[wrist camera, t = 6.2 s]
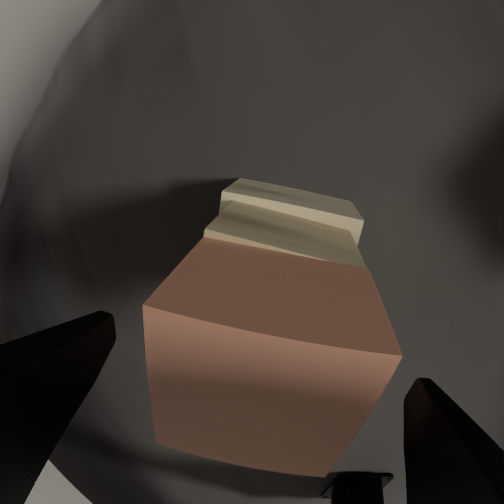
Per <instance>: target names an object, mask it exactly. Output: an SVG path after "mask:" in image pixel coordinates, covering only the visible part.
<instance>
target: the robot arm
mask: <svg viewBox="0 0 504 504" xmlns="http://www.w3.org/2000/svg"><path fill="white" fill-rule="evenodd" d="M115 341H116V331H115V322H114V317H113V315H112V314H111V313H108V312H105V311H97V312H94V313H91V314H88V315H86V316H83V317H80V318H77V319H74V320H71V321H68V322H65V323H62V324H59V325H56V326H53V327H50V328H47V329H44V330H42V331H39V332H36V333H33V334H30V335H27V336H24V337H21V338H18V339H15V340H12V341H9V342H6V343H4V344H0V504H24V503H25V501H26V499H27V497H28V495H29V494H30V492H31V490H32V488H33V486H34V484H35V482H36V480H37V478H38V476H39V475H40V473H41V471H42V469H43V468H44V466H45V464H46V462H47V460H48V459H49V457H50V455H51V454H52V452H53V450H54V448H55V447H56V445H57V443H58V442H59V440H60V438H61V436H62V435H63V433H64V431H65V430H66V428H67V426H68V425H69V423H70V421H71V420H72V418H73V417H74V415H75V413H76V412H77V410H78V408H79V407H80V405H81V404H82V402H83V400H84V399H85V397H86V396H87V394H88V393H89V391H90V389H91V388H92V386H93V385H94V383H95V381H96V379H97V377H98V376H99V374H100V371H101V369H102V367H103V365H104V363H105V361H106V359H107V357H108V355H109V353H110V351H111V349H112V348H113V346H114V343H115ZM404 457H405V471H406V489H407V504H504V451H503V450H502V449H501V448H500V447H499V446H498V445H497V444H496V443H495V442H494V441H493V440H492V439H491V437H490V436H489V435H488V434H487V433H486V432H485V431H484V430H483V429H482V428H481V427H480V426H479V425H477V424H476V423H475V422H474V421H473V420H472V419H471V418H470V417H469V416H468V415H467V414H466V413H465V412H464V411H463V410H462V409H461V408H460V407H459V406H458V405H457V404H456V403H455V402H454V401H453V400H452V399H451V398H450V397H449V396H448V395H447V394H446V393H445V392H444V391H443V390H442V389H441V388H440V387H439V386H438V385H436V384H435V383H434V382H433V381H432V380H431V379H430V378H417V379H416V380H415V382H414V383H413V385H412V387H411V388H410V390H409V391H408V393H407V395H406V396H405V399H404ZM393 478H394V477H393V474H351V473H342V474H339V475H338V476H337V477H336V478H335V479H334V481H333V482H332V483H331V484H330V485H329V486H328V487H327V489H326V490H325V491H324V492H323V493H322V494H321V498H326V499H331V504H384V498H383V488H384V487H385V486H386V485H387V484H388V483H389V482H390V481H391V480H392V479H393Z"/></svg>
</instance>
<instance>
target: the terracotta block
mask: <svg viewBox="0 0 504 504" xmlns="http://www.w3.org/2000/svg"><path fill="white" fill-rule="evenodd" d="M143 321H144V338H145V352H146V364H147V375H148V385H149V394H150V402H151V410H152V417H153V425H154V431H155V438H156V443H157V444H160V445H163V446H166V447H170V448H173V449H176V450H179V451H183V452H186V453H190V454H193V455H197V456H200V457H204V458H208V459H212V460H216V461H220V462H225V463H229V464H234V465H239V466H244V467H249V468H254V469H260V470H266V471H272V472H279V473H286V474H294V475H303V476H314V477H326V475H327V474H328V473H329V471H330V470H331V469H332V468H333V466H334V465H335V464H336V462H337V461H338V460H339V458H340V457H341V456H342V454H343V453H344V451H345V450H346V449H347V447H348V446H349V444H350V443H351V441H352V440H353V439H354V437H355V436H356V434H357V433H358V431H359V430H360V428H361V427H362V425H363V424H364V422H365V421H366V419H367V417H368V416H369V414H370V413H371V411H372V409H373V408H374V406H375V405H376V403H377V401H378V400H379V398H380V396H381V395H382V393H383V391H384V389H385V388H386V386H387V384H388V382H389V381H390V379H391V377H392V375H393V373H394V372H395V370H396V368H397V366H398V364H399V362H400V360H401V358H402V353H401V350H400V347H399V344H398V342H397V339H396V336H395V333H394V331H393V328H392V325H391V323H390V320H389V318H388V315H387V312H386V310H385V307H384V305H383V302H382V300H381V297H380V295H379V293H378V290H377V288H376V285H375V283H374V281H373V278H372V276H371V274H370V271H369V269H365V268H360V267H355V266H350V265H345V264H340V263H335V262H330V261H325V260H320V259H315V258H310V257H304V256H299V255H294V254H289V253H284V252H279V251H274V250H269V249H264V248H259V247H254V246H249V245H243V244H238V243H233V242H228V241H223V240H218V239H213V238H207V237H203V238H202V239H201V240H200V241H199V242H198V243H197V244H196V246H195V247H194V248H193V249H192V250H191V251H190V252H189V253H188V254H187V255H186V257H185V258H184V259H183V260H182V261H181V262H180V263H179V264H178V265H177V267H176V268H175V269H174V270H173V271H172V272H171V273H170V274H169V276H168V277H167V278H166V279H165V280H164V281H163V282H162V283H161V285H160V286H159V287H158V288H157V289H156V290H155V291H154V293H153V294H152V295H151V296H150V297H149V298H148V299H147V301H146V302H145V303H144V304H143Z"/></svg>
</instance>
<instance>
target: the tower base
mask: <svg viewBox="0 0 504 504" xmlns="http://www.w3.org/2000/svg"><path fill="white" fill-rule="evenodd" d="M233 200H234V201H238V202H242V203H246V204H250V205H254V206H258V207H262V208H266V209H270V210H274V211H278V212H282V213H286V214H290V215H293V216H297V217H301V218H305V219H309V220H312V221H316V222H320V223H323V224H327V225H330V226H334V227H338V228H341V229H345V230H348V231H350V232H351V234H352V236H353V238H354V240H355V243H356V245H358V241H359V238H360V234H361V231H362V227H363V223H364V220H363V218H362V217H361V215H360V214H359V212H358V211H357V209H356V208H355V206H354V205H353V203H352V202H351V201H348V200H344V199H339V198H335V197H331V196H326V195H322V194H317V193H313V192H308V191H304V190H299V189H294V188H289V187H284V186H279V185H274V184H269V183H264V182H259V181H254V180H248V179H243V178H239V179H238V180H237V181H235V182H234V183H232V184H231V185H230V186H228V187H227V188H225V189H224V190H223V191H222V194H221V202H220V209H219V214H220V213H221V212H222V211H223V210H224V209H225V208H226V207H227V206H228V205H229V204H230V203H231V202H232V201H233Z"/></svg>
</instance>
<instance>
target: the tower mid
mask: <svg viewBox="0 0 504 504" xmlns="http://www.w3.org/2000/svg"><path fill="white" fill-rule="evenodd" d="M204 237H207V238H213V239H218V240H223V241H228V242H233V243H238V244H243V245H249V246H254V247H259V248H264V249H269V250H274V251H279V252H284V253H289V254H294V255H299V256H304V257H310V258H315V259H320V260H325V261H330V262H335V263H340V264H345V265H350V266H355V267H360V268H365V269H367V268H366V266H365V263H364V261H363V259H362V256H361V254H360V252H359V249H358V247H357V245H356V243H355V240H354V238H353V236H352V234H351V232H350V231H348V230H345V229H341V228H338V227H334V226H330V225H327V224H323V223H320V222H316V221H312V220H309V219H305V218H301V217H297V216H293V215H290V214H286V213H282V212H278V211H274V210H270V209H266V208H262V207H258V206H254V205H250V204H246V203H242V202H238V201H234V200H233V201H232V202H231V203H230V204H229V205H228V206H227V207H226V208H225V209H224V210H223V211H222V212H221V213H220V214H219V215H218V216H217V217H216V218H215V219H214V220H213V221H212V222H211V223H210V224H209V225H208V226H207V227H206V228H205V231H204Z"/></svg>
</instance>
